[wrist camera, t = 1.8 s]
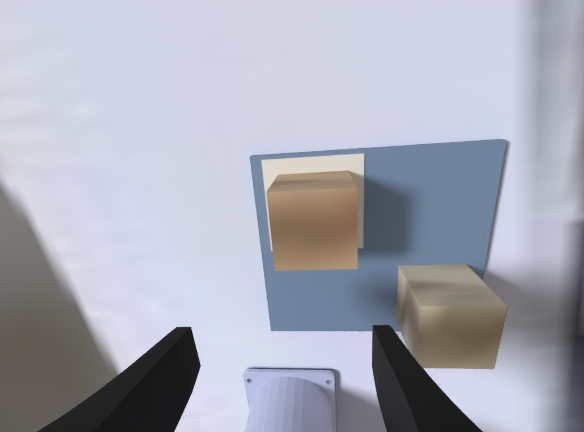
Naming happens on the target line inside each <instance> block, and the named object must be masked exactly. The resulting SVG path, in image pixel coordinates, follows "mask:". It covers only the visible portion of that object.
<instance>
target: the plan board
mask: <svg viewBox="0 0 584 432" xmlns="http://www.w3.org/2000/svg"><path fill="white" fill-rule="evenodd" d="M506 141H507V140H503V139H495V140H480V141H465V142H450V143H434V144H419V145H404V146H389V147H374V148H359V149H343V150H328V151H313V152H298V153H283V154H267V155H252V156H250V162H251V171H252V179H253V187H254V195H255V203H256V211H257V220H258V228H259V236H260V244H261V252H262V260H263V269H264V277H265V285H266V293H267V301H268V309H269V318H270V326H271V331H373V325H390V326H391V327H392V328H393V330H394V331H401V330H400V328H399V325H398V322H397V320H396V304H397V287H398V270H399V266H406V265H451V264H466V265H467V266H468V267H469V268H470V269H471V270H472V271H473V272H474V273H475V274H476V275H477V276H478V277H479V278H480V279H483V274H484V268H485V262H486V256H487V251H488V245H489V239H490V233H491V228H492V222H493V216H494V210H495V205H496V199H497V193H498V187H499V182H500V176H501V170H502V164H503V159H504V153H505V147H506ZM331 171H349V173H350V175H351V177H352V178H353V180H354V182H355V183H356V185H357V187H358V258H357V269H336V270H290V271H275V268H274V259H273V250H272V241H271V231H270V222H269V213H268V203H267V194H266V192H267V190H268V189H269V187H270V186H271V184H272V183H273V181H274V180H275V178H276V177H277V175H280V174H297V173H314V172H331Z"/></svg>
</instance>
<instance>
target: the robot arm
mask: <svg viewBox="0 0 584 432" xmlns="http://www.w3.org/2000/svg"><path fill="white" fill-rule="evenodd" d="M200 366H201V365H200V361H199V357H198V353H197V349H196V345H195V341H194V337H193V333H192V329H191V327H176V328H175V329H174V330H172V331H171V332H170V333H169V334H167V335H166V336H165V337H164V338H163V339H161V340H160V341H159V342H158V343H157V344H156V345H154V346H153V347H152V348H151V349H150V350H148V351H147V352H146V353H145V354H144V355H142V356H141V357H140V358H139V359H138V360H136V361H135V362H134V363H133V364H132V365H130V366H129V367H128V368H127V369H125V370H124V371H123V372H122V373H120V374H119V375H118V376H116V377H115V378H114V379H113V380H111V381H110V382H109V383H107V384H106V385H105V386H104V387H102V388H101V389H100V390H98V391H97V392H96V393H94V394H93V395H92V396H90V397H89V398H87V399H86V400H85V401H83V402H82V403H81V404H79V405H77V406H76V407H75V408H73V409H72V410H70V411H69V412H67V413H66V414H64V415H63V416H61V417H60V418H58V419H57V420H55V421H54V422H52V423H50V424H49V425H47V426H46V427H44V428H42V429H41V430H39V431H38V432H174V431H175V429H176V427H177V425H178V422H179V420H180V418H181V416H182V414H183V412H184V409H185V407H186V405H187V403H188V401H189V398H190V396H191V394H192V391H193V388H194V385H195V382H196V379H197V376H198V373H199V370H200ZM372 369H373V375H374V381H375V386H376V392H377V397H378V401H379V404H380V408H381V412H382V415H383V419H384V423H385V426H386V430H387V432H483V431H482V430H480V429H479V428H478V427H477V426H476V425H475V424H474V423H473V422H472V421H471V420H470V419H469V418H468V417H467V416H466V415H465V414H464V413H463V412H462V411H461V410H460V409H459V408H458V407H457V406H456V405H455V404H454V403H453V402H452V401H451V400H450V399H449V397H448V396H447V395H446V394H445V393H444V392H443V391H442V390H441V389H440V388H439V387H438V385H437V384H436V383H435V382H434V381H433V380H432V379H431V377H430V376H429V375H428V374H427V373H426V371H425V370H424V369H423V368H422V367H421V365H420V364H419V363H418V362H417V361H416V359H415V358H414V357H413V356H412V354H411V353H410V352H409V350H408V349H407V348H406V346H405V345H404V344H403V342H402V341H401V340H400V338H399V337H398V335H397V334H396V333H395V331H394V330H393V328H392V327H391V326H390V325H373V333H372ZM243 377H244V383H245V388H246V394H247V400H248V406H249V416H248V420H247V424H246V429H245V432H336V405H335V376H334V372H333V371H331V370H289V369H246V370H245V371H244V374H243ZM328 380H330V381H328Z"/></svg>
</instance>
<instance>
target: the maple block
mask: <svg viewBox="0 0 584 432" xmlns="http://www.w3.org/2000/svg"><path fill="white" fill-rule="evenodd" d="M507 307H508V305H507V304H506V303H505V302H504V301H503V300H502V299H501V298H500V297H499V296H498V295H497V294H496V293H495V292H494V291H493V290H492V289H491V288H490V287H489V286H488V285H487V284H486V283H485V282H484V281H483V280H482V279H480V278H479V277H478V276H477V275H476V274H475V273H474V272H473V271H472V270H471V269H470V268H469V267H468V266H467V265H466V264H451V265H406V266H399V270H398V287H397V304H396V320H397V322H398V325H399V328H400V330H401V333H402V335H403V338H404V340H405V343H406V345H407V348H408V350H409V352H410V353H411V354H412V356H413V357H414V358H415V359H416V361H417V362H418V363H419V364H420V365H421V367H422V368H464V369H494V367H495V363H496V358H497V353H498V349H499V344H500V340H501V335H502V330H503V326H504V321H505V316H506V312H507Z"/></svg>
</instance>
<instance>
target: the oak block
mask: <svg viewBox="0 0 584 432" xmlns="http://www.w3.org/2000/svg"><path fill="white" fill-rule="evenodd" d="M266 194H267V203H268V213H269V222H270V231H271V241H272V250H273V259H274V268H275V271H290V270H336V269H357V258H358V187H357V185H356V183H355V182H354V180H353V178H352V177H351V175H350V173H349V171H331V172H314V173H297V174H280V175H277V177H276V178H275V180H274V181H273V183H272V184H271V186H270V187H269V189H268V190H267V192H266Z"/></svg>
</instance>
